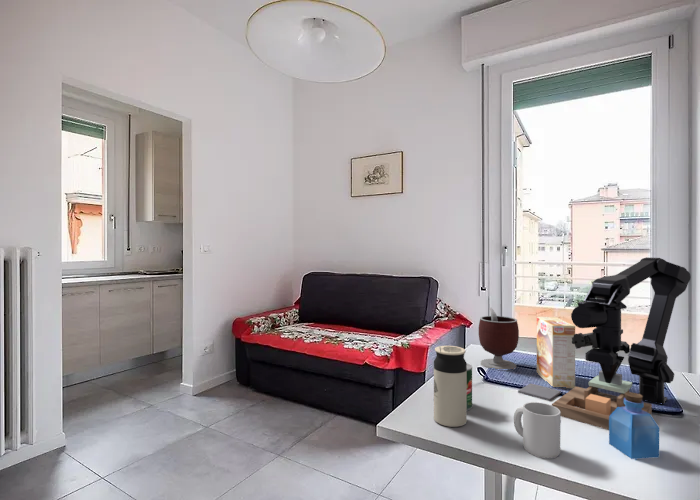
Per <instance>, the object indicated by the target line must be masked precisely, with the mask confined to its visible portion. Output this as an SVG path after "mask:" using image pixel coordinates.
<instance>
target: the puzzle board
mask: <svg viewBox="0 0 700 500" xmlns="http://www.w3.org/2000/svg"><path fill="white" fill-rule="evenodd" d="M627 392H630V389H629V390H628V391H627ZM590 394H593V395H598V396H602V397H606V398H610V399H611V414H612V413H613V411H614V410H615V409H616V408H617V407H625V404H624V398H626V397H625V394H623V393H619V395H614V394H610V393H606V392H603V391H599V388H597V387H593V386H589V385H588V387H587V388H585V387H580V386H575V387H574V388H571V389H570V390H569V391H568V392H566V393H565V394H564V395H562V396H561V397H559V398H558V399H556V400H555V401H554V402H553V403H551V405H552V406H554V407H556V408H558V409H559V410H560V412H561V413H560V417H562V418H566V419H568V420H569V419H570V420H573V421H576V422H580V423H584V424H587V425H588V426H589V425H590V426H593V427H596V428H601V429H604V430H608V431H609V416H608V415H604V414H600V413H597V412H593V411H589V410H585V398H586V397H588V396H589V395H590ZM643 402H644V407H643V408H642V410H643V411H645V412H647V413H649V414H650V415H651V416H652V413H653V411H652V410H653V407H652V406H653V403H650V402H645V401H643Z"/></svg>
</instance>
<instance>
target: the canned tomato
mask: <svg viewBox="0 0 700 500" xmlns="http://www.w3.org/2000/svg"><path fill="white" fill-rule="evenodd" d="M472 408H473V366H472V364H469V363H467V411H469V410H471V409H472Z"/></svg>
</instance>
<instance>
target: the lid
mask: <svg viewBox="0 0 700 500" xmlns="http://www.w3.org/2000/svg"><path fill="white" fill-rule="evenodd" d="M589 386H593V387H597V388H598V389H602V390H606V391H611V392H614V393H619V394H621V393H623V394H625V393H626V392H627V391H628V390H629V391H630V389H631V388H632V387H633V382H632V381H627V380H623V374H622V373H617V372H616V374H615V376H614V378H613V380H612V382H611V383H606V382H605V379H604V375H603V372H602V369H601V370H599V372H598V374H597V375H595V376H594V377H593V378H592V379H590V380H589V381H588V387H589Z"/></svg>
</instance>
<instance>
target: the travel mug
mask: <svg viewBox="0 0 700 500" xmlns="http://www.w3.org/2000/svg"><path fill="white" fill-rule="evenodd" d="M434 351H435V353H436V356H435V358H434V360H433V420H434V421H435V422H436V423H437V424H440V425H442V426H445V427H448V428H450V427H451V428H457V427H462V426H464V425H465V424H467V416H468V415H467V411H468V410H467V364H468V363H467V361H466V359H465V354H466V349H465V348H463V347H460V346H456V345H440V346H439V345H438V346H436V347H435V348H434Z"/></svg>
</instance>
